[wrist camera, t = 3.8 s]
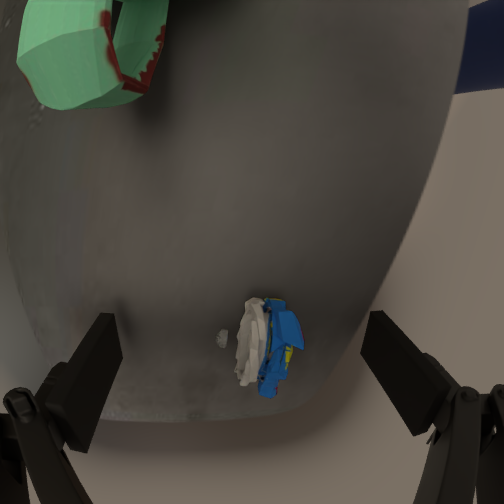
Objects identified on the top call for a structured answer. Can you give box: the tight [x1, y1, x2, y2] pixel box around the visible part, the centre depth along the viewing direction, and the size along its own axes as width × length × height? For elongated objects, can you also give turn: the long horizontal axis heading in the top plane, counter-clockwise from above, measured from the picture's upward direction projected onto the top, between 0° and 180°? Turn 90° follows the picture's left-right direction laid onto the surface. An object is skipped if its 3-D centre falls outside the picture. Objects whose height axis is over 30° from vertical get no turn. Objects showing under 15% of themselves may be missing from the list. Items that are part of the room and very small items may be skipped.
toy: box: [215, 297, 304, 398], centre depth 14 cm, size 5×4×5 cm
